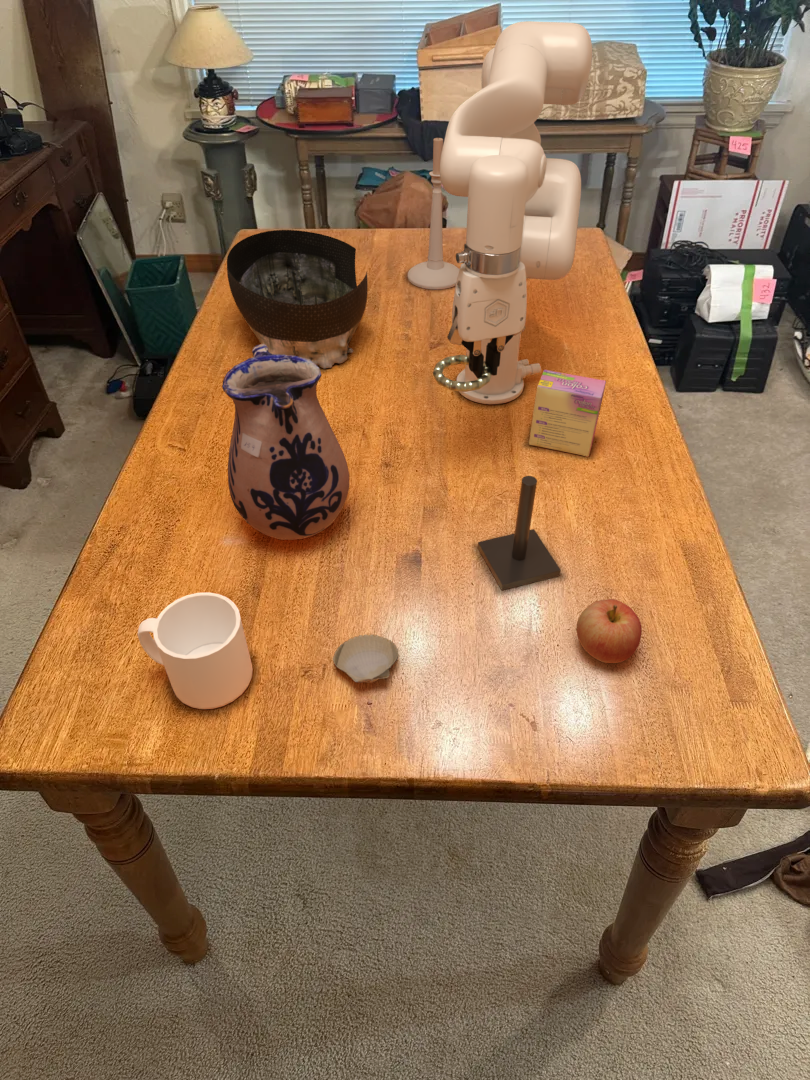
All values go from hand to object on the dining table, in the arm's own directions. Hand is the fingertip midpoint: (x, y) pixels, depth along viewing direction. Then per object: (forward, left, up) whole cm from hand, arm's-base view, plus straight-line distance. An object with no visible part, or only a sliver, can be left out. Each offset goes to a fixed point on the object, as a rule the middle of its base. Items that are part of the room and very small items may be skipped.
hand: (483, 371), depth 117 cm
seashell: (+30, +36, -16) cm, 50 cm away
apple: (0, +43, -16) cm, 46 cm away
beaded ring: (+4, 0, 0) cm, 4 cm away
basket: (+19, -50, -16) cm, 56 cm away
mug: (+50, +31, -16) cm, 61 cm away
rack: (+4, +25, -16) cm, 30 cm away
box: (-15, +1, -16) cm, 22 cm away
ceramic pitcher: (+33, +4, -16) cm, 37 cm away
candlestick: (-16, -66, -16) cm, 70 cm away
